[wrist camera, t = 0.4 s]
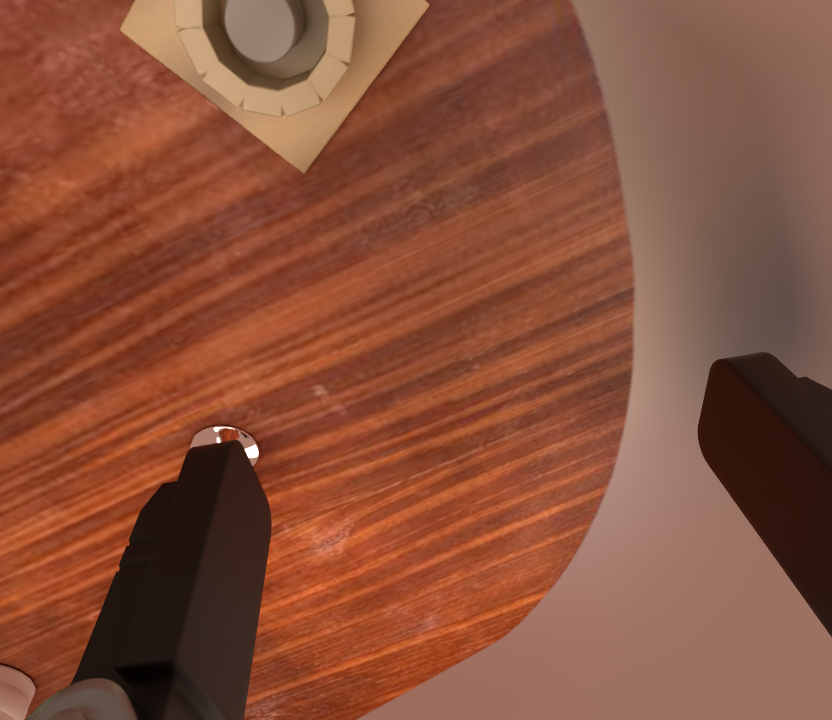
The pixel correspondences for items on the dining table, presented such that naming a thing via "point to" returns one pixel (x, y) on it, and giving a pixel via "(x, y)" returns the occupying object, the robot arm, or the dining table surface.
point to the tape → (243, 83)
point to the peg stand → (283, 58)
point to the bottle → (14, 693)
